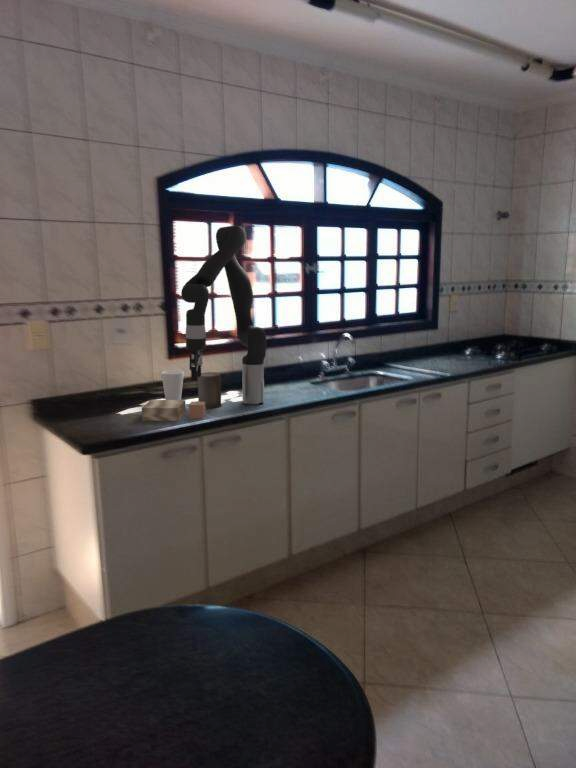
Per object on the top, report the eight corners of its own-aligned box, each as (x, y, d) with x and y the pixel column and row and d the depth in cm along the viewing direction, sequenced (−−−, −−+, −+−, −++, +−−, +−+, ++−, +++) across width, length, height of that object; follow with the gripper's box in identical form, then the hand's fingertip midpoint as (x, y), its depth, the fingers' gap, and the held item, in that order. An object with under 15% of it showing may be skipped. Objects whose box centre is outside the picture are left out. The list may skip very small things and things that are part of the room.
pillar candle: (225, 404, 246) (224, 369, 244) (214, 409, 238) (213, 373, 235) (205, 402, 250) (204, 368, 247) (194, 407, 241) (192, 372, 238)
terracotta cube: (205, 415, 228) (205, 401, 227) (203, 418, 222) (203, 404, 221) (191, 415, 228) (191, 401, 227) (189, 418, 223) (188, 404, 221)
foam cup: (162, 404, 245) (161, 374, 243) (161, 399, 254) (160, 370, 252) (185, 403, 248) (184, 373, 245) (183, 398, 257) (182, 370, 254)
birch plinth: (185, 412, 232) (185, 400, 231) (178, 420, 218) (178, 408, 217) (151, 411, 232) (150, 399, 231) (142, 420, 219) (141, 407, 218)
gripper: (202, 339, 212) (202, 382, 215) (208, 335, 226) (208, 375, 229) (182, 338, 212) (183, 381, 215) (189, 334, 226) (190, 375, 229)
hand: (196, 378), depth 222 cm, fingers open, 8 cm apart
